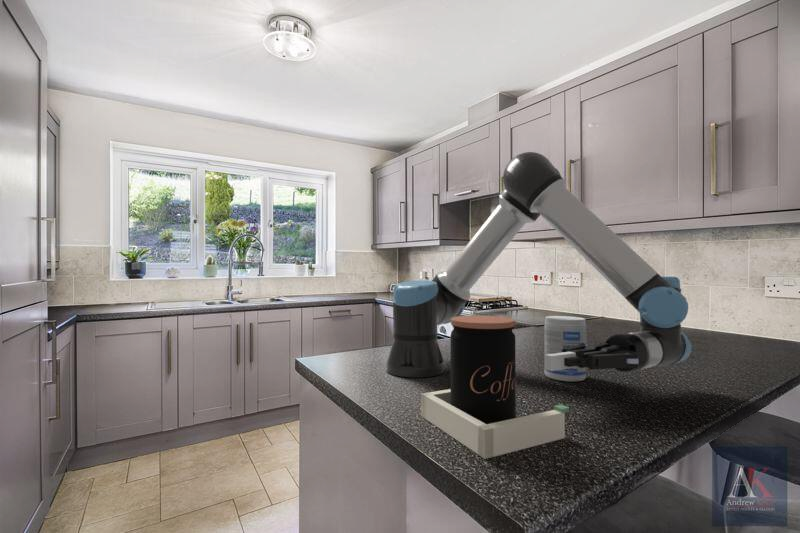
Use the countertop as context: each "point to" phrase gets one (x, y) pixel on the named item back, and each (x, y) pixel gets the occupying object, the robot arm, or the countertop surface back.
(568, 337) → the supplement tub
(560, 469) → the countertop surface
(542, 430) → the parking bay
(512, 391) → the coffee jar
